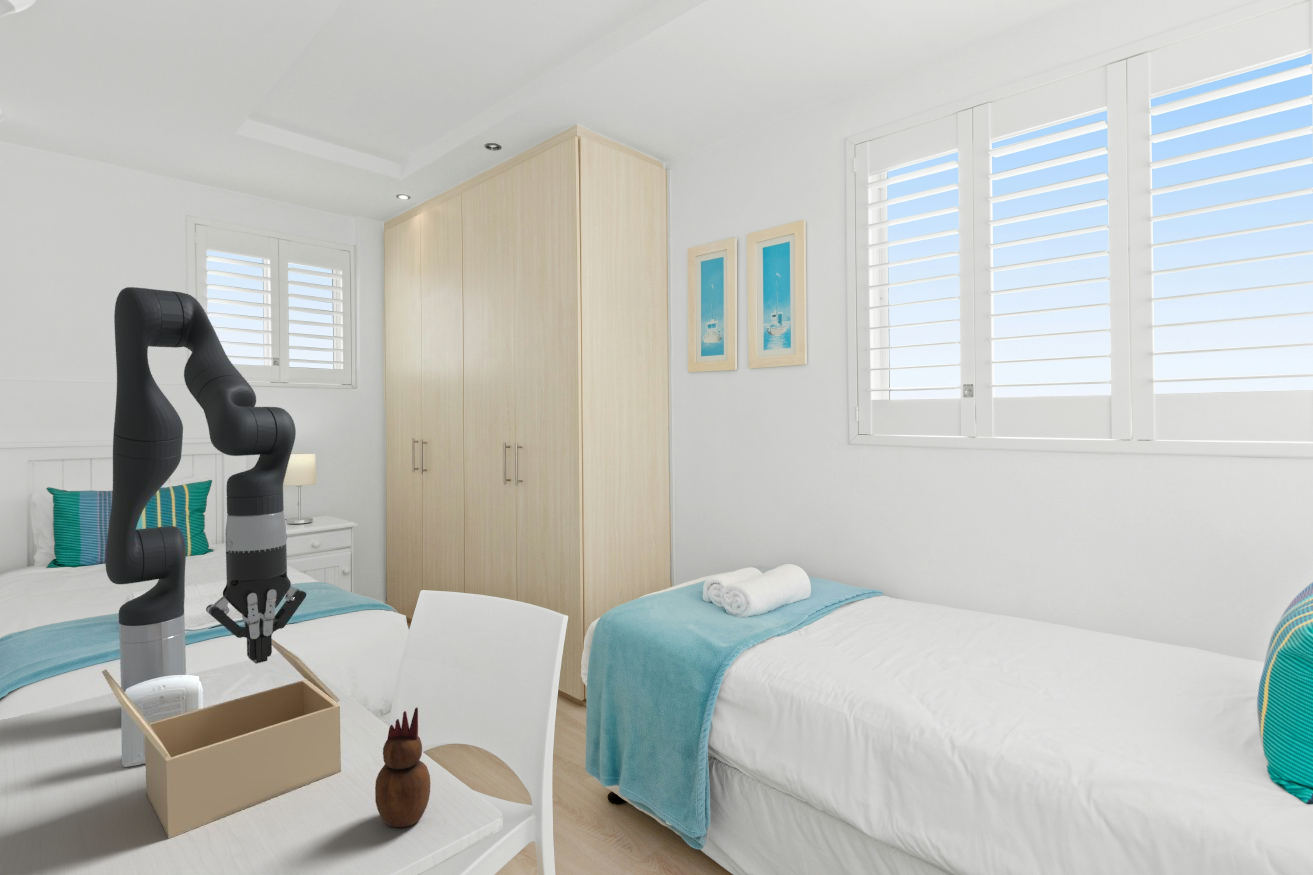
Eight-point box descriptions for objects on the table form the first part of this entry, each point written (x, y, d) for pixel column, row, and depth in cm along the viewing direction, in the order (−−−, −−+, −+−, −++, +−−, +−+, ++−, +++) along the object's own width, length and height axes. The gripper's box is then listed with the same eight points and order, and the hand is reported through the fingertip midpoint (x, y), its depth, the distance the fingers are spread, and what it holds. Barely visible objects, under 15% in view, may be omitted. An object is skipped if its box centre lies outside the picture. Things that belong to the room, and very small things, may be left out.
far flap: (265, 638, 102) (267, 635, 102) (303, 677, 106) (306, 674, 106) (296, 660, 92) (299, 658, 93) (337, 702, 97) (340, 699, 97)
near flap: (147, 720, 91) (143, 723, 91) (105, 668, 88) (101, 671, 87) (168, 755, 82) (164, 758, 81) (123, 699, 78) (118, 702, 78)
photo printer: (204, 740, 106) (202, 666, 106) (203, 752, 103) (201, 675, 102) (124, 759, 101) (121, 680, 100) (120, 771, 97) (117, 690, 97)
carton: (146, 794, 91) (144, 724, 91) (306, 739, 107) (305, 679, 106) (168, 838, 82) (166, 760, 81) (341, 771, 97) (339, 705, 97)
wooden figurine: (439, 811, 87) (437, 702, 87) (409, 838, 82) (408, 721, 81) (398, 802, 90) (396, 695, 89) (366, 827, 84) (365, 713, 84)
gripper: (296, 534, 102) (299, 643, 102) (195, 546, 92) (199, 667, 93) (314, 540, 97) (317, 655, 97) (209, 554, 87) (213, 681, 88)
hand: (259, 660), depth 95 cm, fingers closed
